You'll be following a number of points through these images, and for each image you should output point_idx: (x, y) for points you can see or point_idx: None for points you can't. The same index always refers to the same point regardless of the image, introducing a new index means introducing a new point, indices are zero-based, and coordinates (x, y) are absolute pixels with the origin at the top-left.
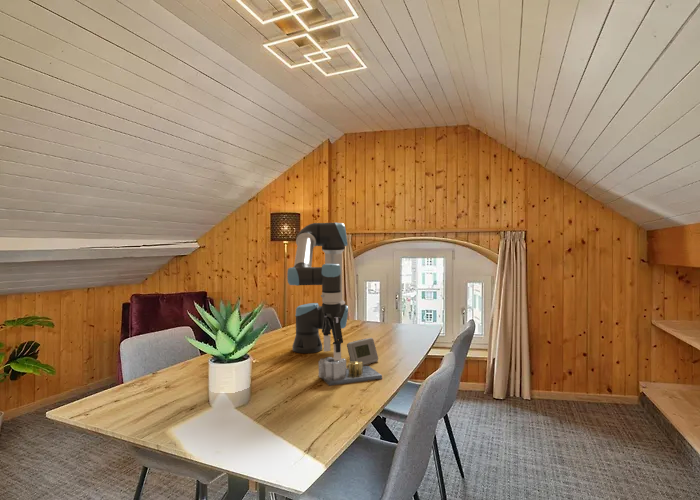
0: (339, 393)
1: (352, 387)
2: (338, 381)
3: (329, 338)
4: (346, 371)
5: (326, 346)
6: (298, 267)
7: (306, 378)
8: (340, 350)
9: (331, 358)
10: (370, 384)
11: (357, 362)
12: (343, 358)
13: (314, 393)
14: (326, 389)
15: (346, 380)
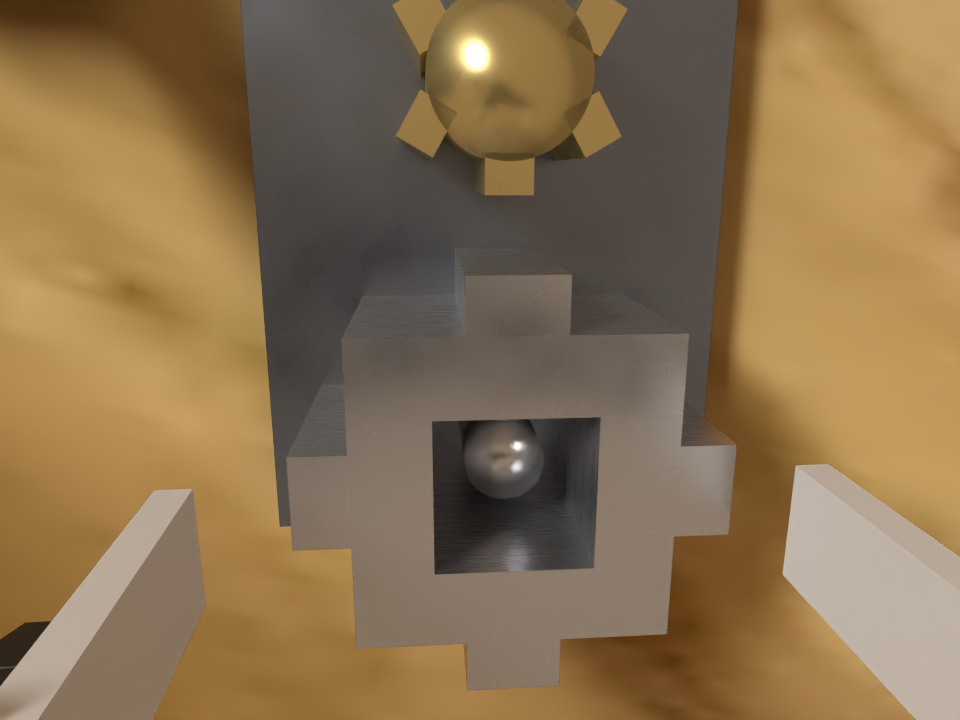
0: (932, 459)
1: (842, 282)
2: (701, 404)
3: (86, 684)
4: (397, 197)
5: (170, 624)
6: None
7: (359, 649)
8: (946, 559)
9: (397, 481)
10: (852, 42)
11: (504, 33)
12: (470, 291)
13: (818, 661)
14: (771, 542)
15: (710, 307)
